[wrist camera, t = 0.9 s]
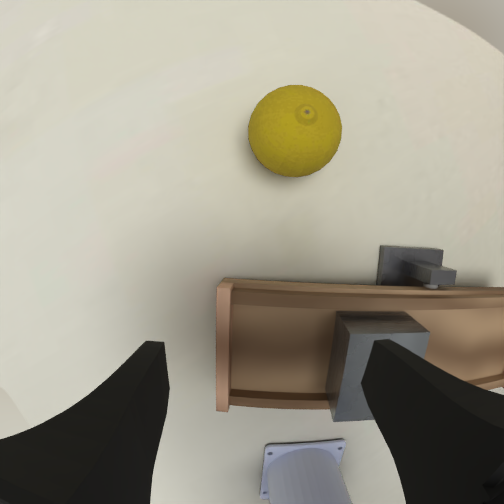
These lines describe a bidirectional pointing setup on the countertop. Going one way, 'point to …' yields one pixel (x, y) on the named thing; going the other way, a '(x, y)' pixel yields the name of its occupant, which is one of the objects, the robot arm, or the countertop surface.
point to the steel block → (364, 355)
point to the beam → (322, 329)
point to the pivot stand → (412, 267)
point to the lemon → (295, 130)
